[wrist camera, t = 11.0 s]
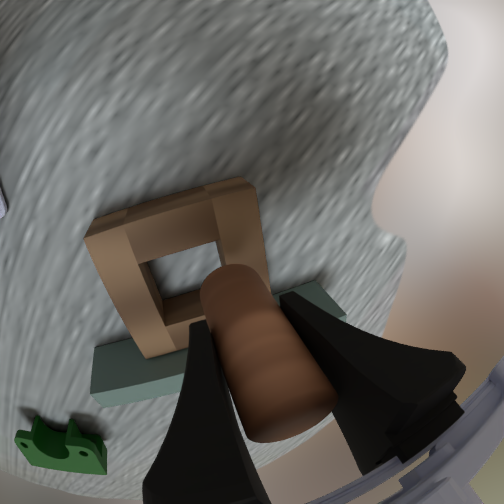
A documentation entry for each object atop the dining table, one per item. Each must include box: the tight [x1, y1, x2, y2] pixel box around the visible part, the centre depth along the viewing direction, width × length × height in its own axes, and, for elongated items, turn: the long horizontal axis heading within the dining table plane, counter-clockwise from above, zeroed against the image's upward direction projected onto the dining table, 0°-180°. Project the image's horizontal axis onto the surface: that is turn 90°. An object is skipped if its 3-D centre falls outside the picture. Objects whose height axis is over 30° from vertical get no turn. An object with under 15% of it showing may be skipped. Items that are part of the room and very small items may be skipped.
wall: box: [90, 280, 347, 408], centre depth 20 cm, size 2×20×5 cm, turn 99°
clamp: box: [14, 415, 107, 475], centre depth 21 cm, size 12×6×9 cm, turn 77°
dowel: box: [200, 264, 338, 443], centre depth 10 cm, size 3×3×7 cm
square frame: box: [83, 177, 271, 359], centre depth 18 cm, size 10×10×3 cm
